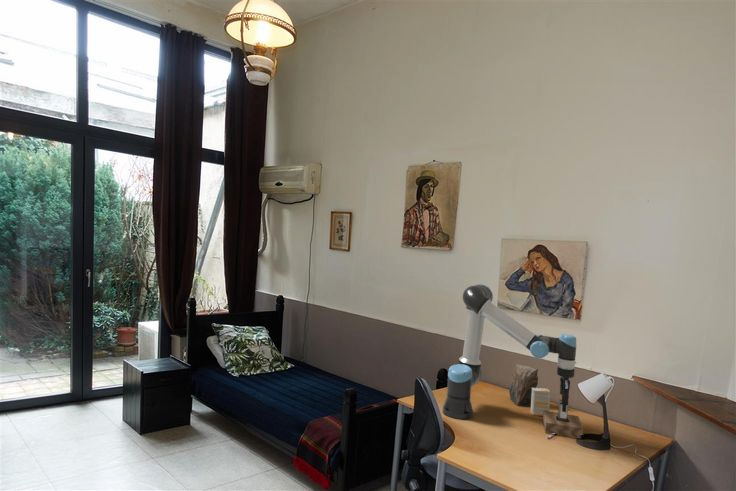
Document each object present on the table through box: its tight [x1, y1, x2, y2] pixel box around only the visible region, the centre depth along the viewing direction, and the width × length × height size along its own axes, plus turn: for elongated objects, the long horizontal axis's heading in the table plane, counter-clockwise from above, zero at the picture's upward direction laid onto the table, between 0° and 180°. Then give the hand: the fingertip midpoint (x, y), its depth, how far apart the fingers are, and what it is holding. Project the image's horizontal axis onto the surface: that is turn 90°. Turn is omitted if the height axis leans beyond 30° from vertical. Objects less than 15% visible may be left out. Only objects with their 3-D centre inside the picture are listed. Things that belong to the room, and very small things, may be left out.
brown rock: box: [508, 363, 539, 407], centre depth 252 cm, size 13×13×20 cm
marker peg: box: [557, 393, 570, 422], centre depth 217 cm, size 4×4×14 cm
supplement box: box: [530, 387, 551, 417], centre depth 235 cm, size 8×5×13 cm, turn 84°
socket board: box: [542, 410, 584, 439], centre depth 217 cm, size 16×16×5 cm
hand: (562, 416), depth 217 cm, fingers closed on marker peg, 4 cm apart
